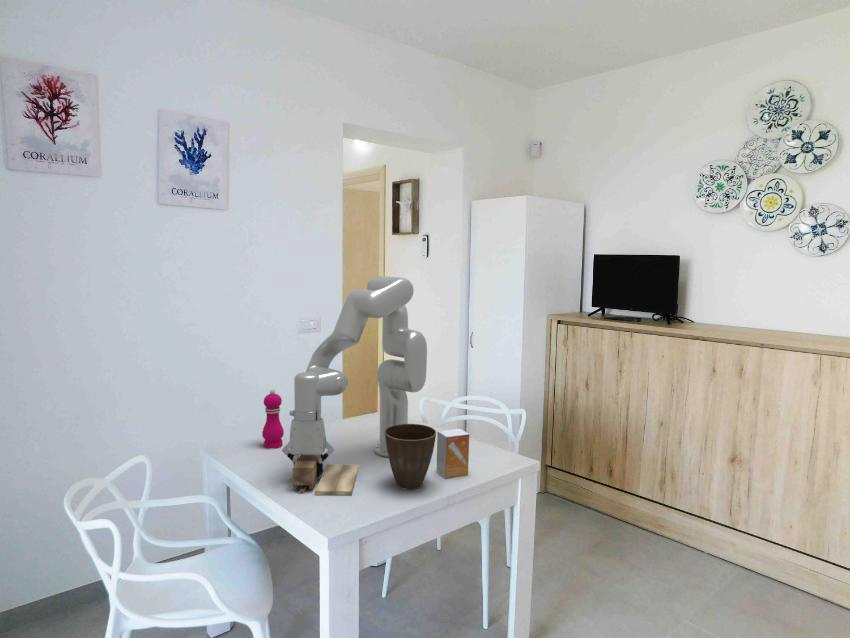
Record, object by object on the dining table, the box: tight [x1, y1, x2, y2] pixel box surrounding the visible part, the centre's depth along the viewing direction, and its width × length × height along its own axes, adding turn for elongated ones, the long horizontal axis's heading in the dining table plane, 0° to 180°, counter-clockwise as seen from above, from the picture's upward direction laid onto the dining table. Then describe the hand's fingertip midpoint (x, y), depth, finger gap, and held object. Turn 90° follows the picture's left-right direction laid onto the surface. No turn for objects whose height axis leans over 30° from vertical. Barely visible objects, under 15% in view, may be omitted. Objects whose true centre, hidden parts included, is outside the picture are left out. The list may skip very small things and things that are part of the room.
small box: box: [436, 428, 470, 479], centre depth 169 cm, size 8×6×13 cm
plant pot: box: [385, 423, 437, 490], centre depth 160 cm, size 15×15×16 cm
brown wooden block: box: [292, 455, 318, 490], centre depth 162 cm, size 6×16×6 cm, turn 1°
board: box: [298, 463, 360, 497], centre depth 162 cm, size 15×20×1 cm
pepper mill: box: [261, 389, 285, 449], centre depth 191 cm, size 7×7×20 cm
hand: (308, 474), depth 162 cm, fingers closed on brown wooden block, 5 cm apart
